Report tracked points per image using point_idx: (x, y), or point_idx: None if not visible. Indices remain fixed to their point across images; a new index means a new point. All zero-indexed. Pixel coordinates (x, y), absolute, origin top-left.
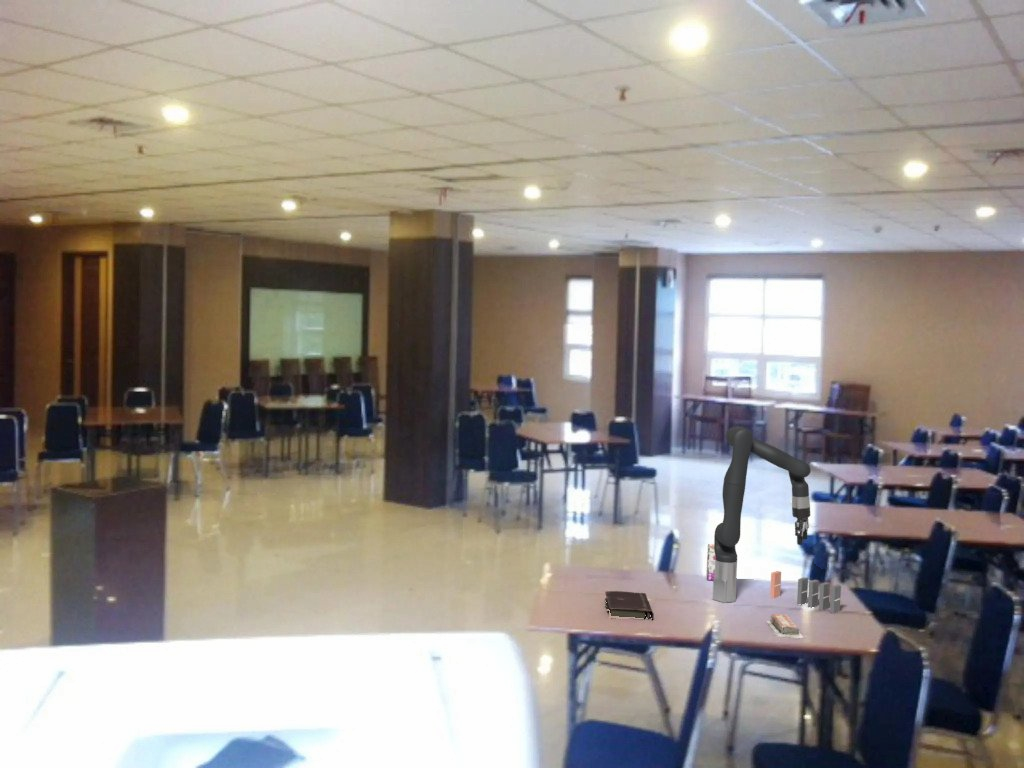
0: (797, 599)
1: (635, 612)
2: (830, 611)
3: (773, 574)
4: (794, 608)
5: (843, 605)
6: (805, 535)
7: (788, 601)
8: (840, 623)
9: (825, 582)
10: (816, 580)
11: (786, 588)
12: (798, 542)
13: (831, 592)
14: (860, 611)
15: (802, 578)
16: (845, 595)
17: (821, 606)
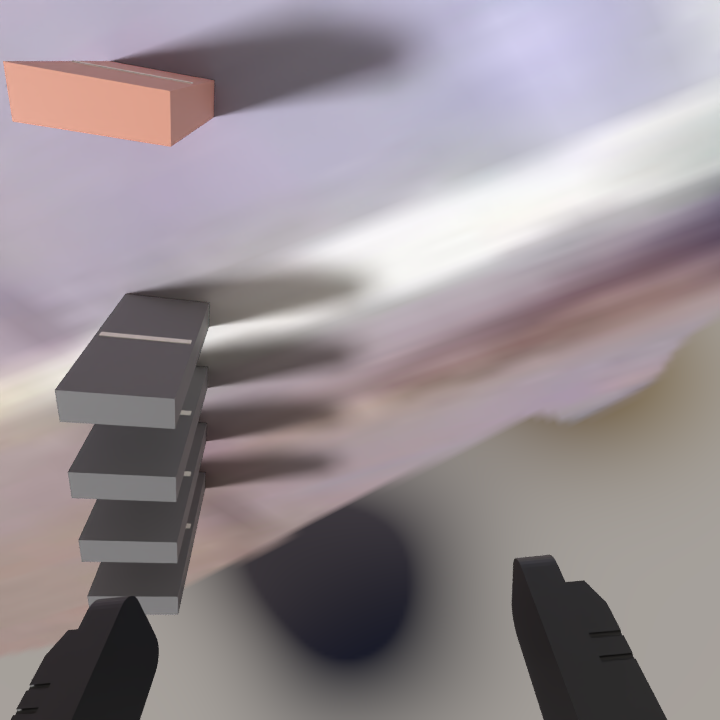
0: (115, 309)
1: None
2: None
3: (15, 98)
4: (27, 315)
5: (323, 465)
6: (541, 689)
7: (141, 222)
8: (19, 550)
9: (163, 544)
10: (160, 491)
11: (474, 62)
12: (47, 668)
13: (100, 567)
14: (282, 537)
15: (115, 404)
16: (519, 411)
17: None
